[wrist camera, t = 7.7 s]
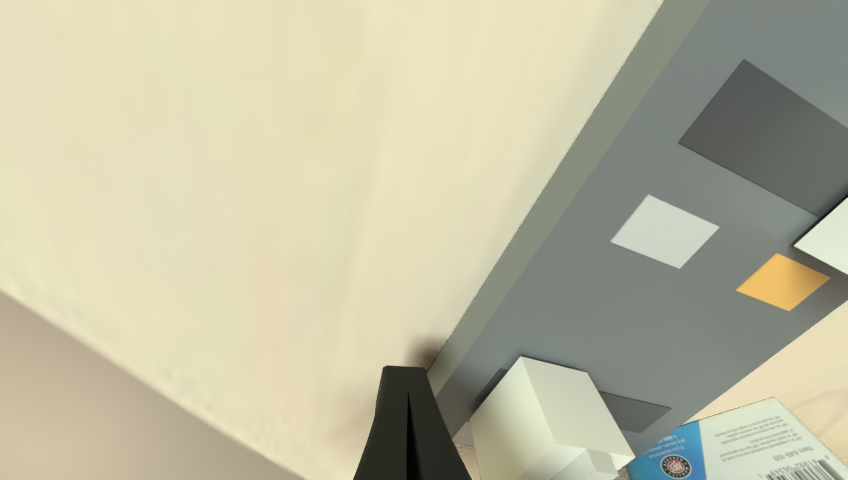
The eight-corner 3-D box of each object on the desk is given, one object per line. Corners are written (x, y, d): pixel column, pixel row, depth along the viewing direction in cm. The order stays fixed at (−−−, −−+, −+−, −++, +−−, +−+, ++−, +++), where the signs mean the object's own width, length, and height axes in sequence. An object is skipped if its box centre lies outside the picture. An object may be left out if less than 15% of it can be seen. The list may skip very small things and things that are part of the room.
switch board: (747, -129, 7) (827, -166, 6) (1006, 104, 10) (1096, 115, 9) (407, 402, 16) (409, 436, 14) (607, 438, 19) (624, 469, 18)
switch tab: (520, 356, 12) (564, 466, 9) (587, 372, 13) (648, 479, 10) (469, 419, 14) (491, 529, 11) (530, 430, 15) (567, 536, 12)
